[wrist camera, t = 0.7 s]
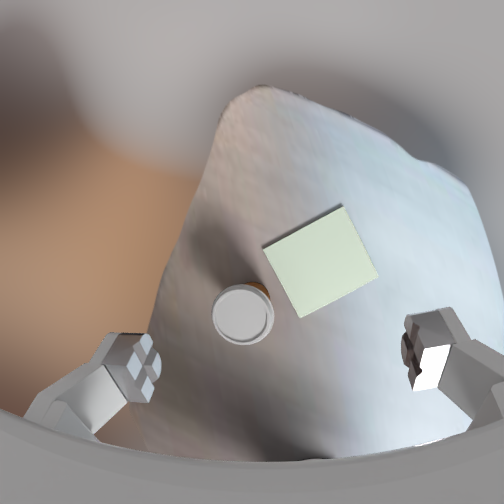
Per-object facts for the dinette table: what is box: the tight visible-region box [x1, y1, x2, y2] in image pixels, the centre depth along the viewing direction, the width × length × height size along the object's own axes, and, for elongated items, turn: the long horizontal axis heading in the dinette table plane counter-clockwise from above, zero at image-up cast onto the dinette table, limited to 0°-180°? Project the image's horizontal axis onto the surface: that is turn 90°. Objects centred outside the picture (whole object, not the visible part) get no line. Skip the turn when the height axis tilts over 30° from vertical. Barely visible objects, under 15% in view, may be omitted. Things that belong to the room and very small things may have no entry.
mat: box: [263, 206, 378, 318], centre depth 55 cm, size 14×16×1 cm
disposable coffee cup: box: [212, 282, 274, 345], centre depth 52 cm, size 10×10×12 cm
